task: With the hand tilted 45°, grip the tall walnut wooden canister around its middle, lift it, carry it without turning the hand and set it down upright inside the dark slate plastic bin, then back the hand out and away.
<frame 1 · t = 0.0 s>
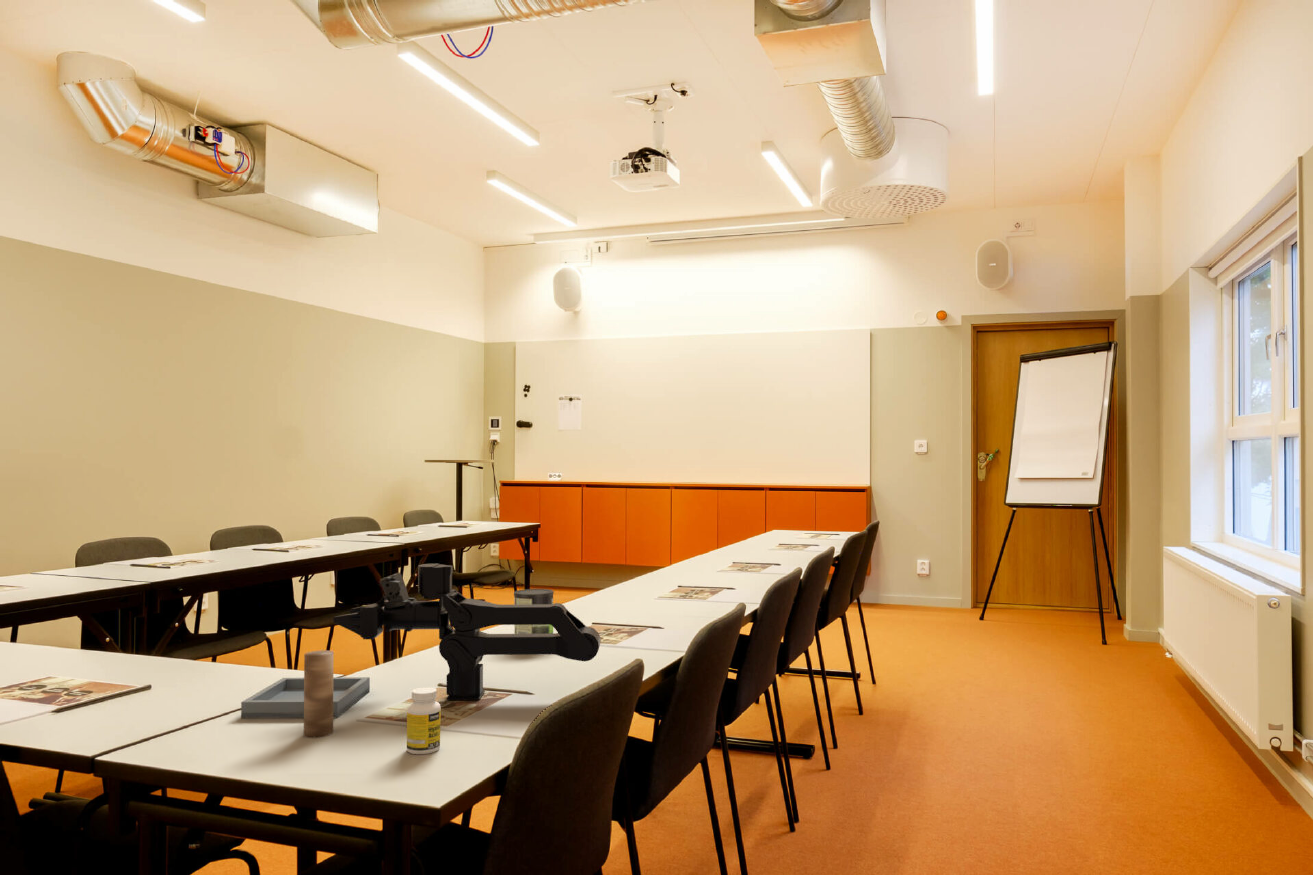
hand: (342, 615, 173), 17 cm above the table, tool horizontal, fingers open, 9 cm apart
coffee can: (533, 646, 221), on the table
supplement bottle: (423, 750, 141), on the table
canister: (318, 733, 150), on the table
bin: (308, 704, 168), on the table
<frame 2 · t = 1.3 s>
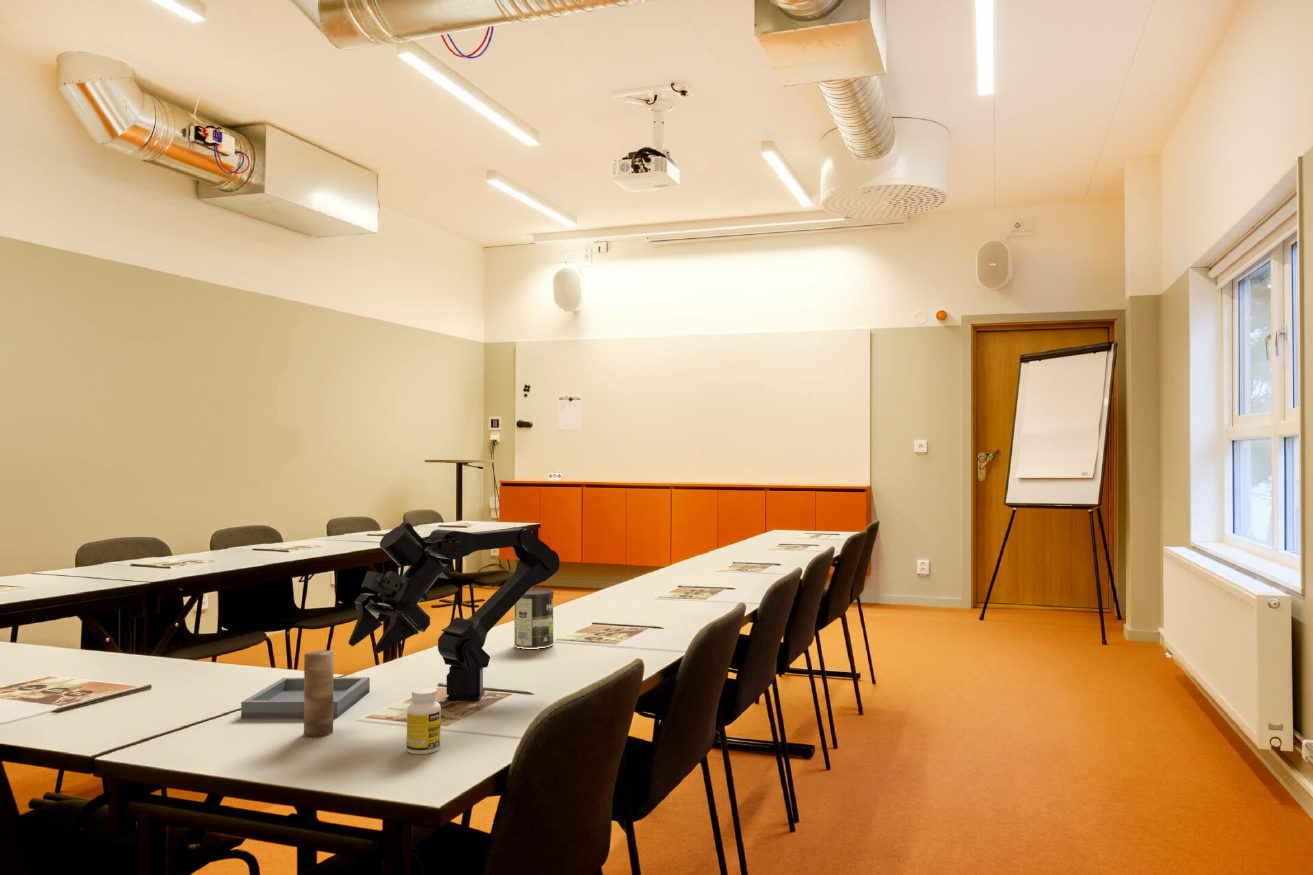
hand: (362, 648, 156), 13 cm above the table, tool tilted 45°, fingers open, 9 cm apart
nothing on the table moved.
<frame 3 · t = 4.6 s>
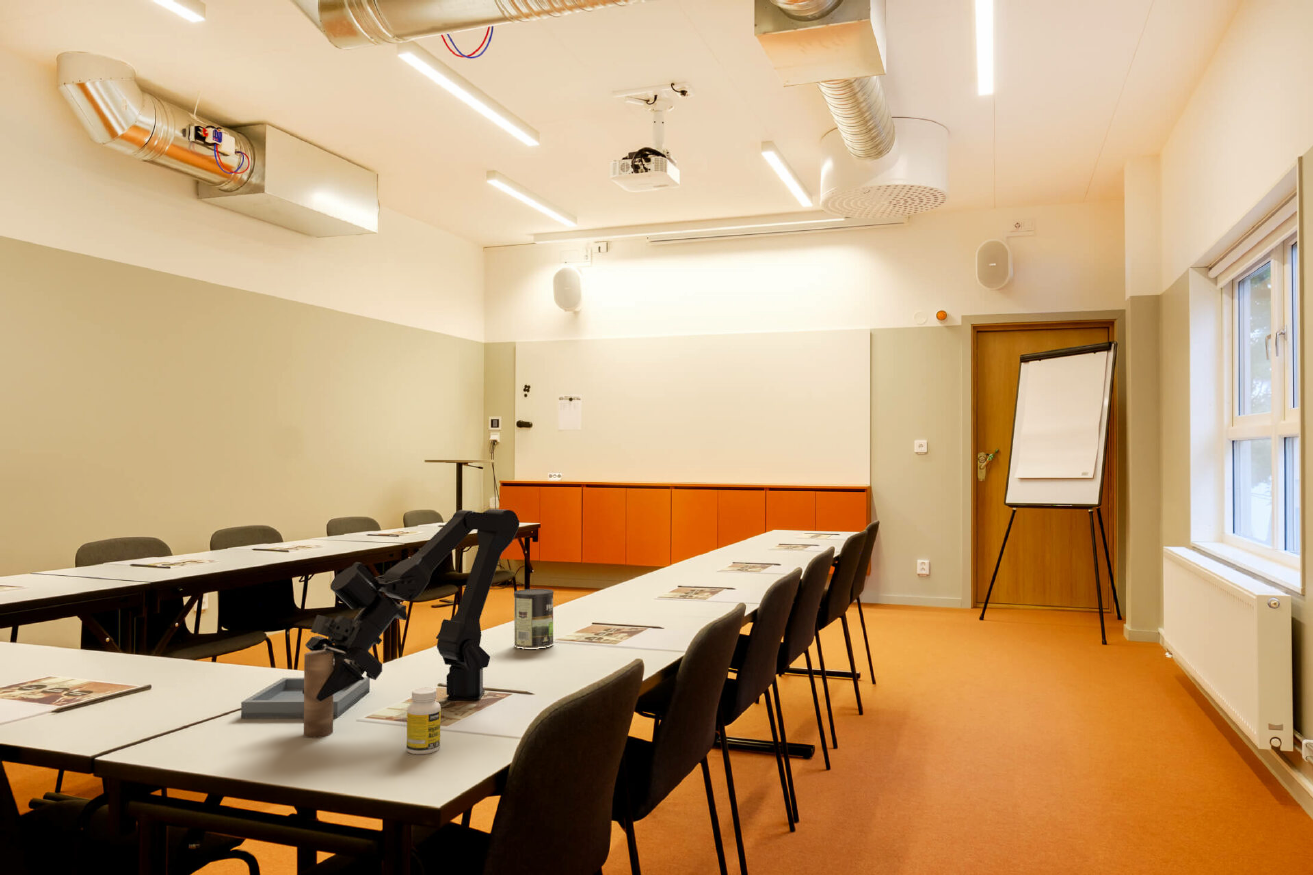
hand: (311, 697, 149), 7 cm above the table, tool tilted 45°, fingers closed on canister, 5 cm apart
canister: (318, 732, 150), on the table, touching gripper
everything else where it was.
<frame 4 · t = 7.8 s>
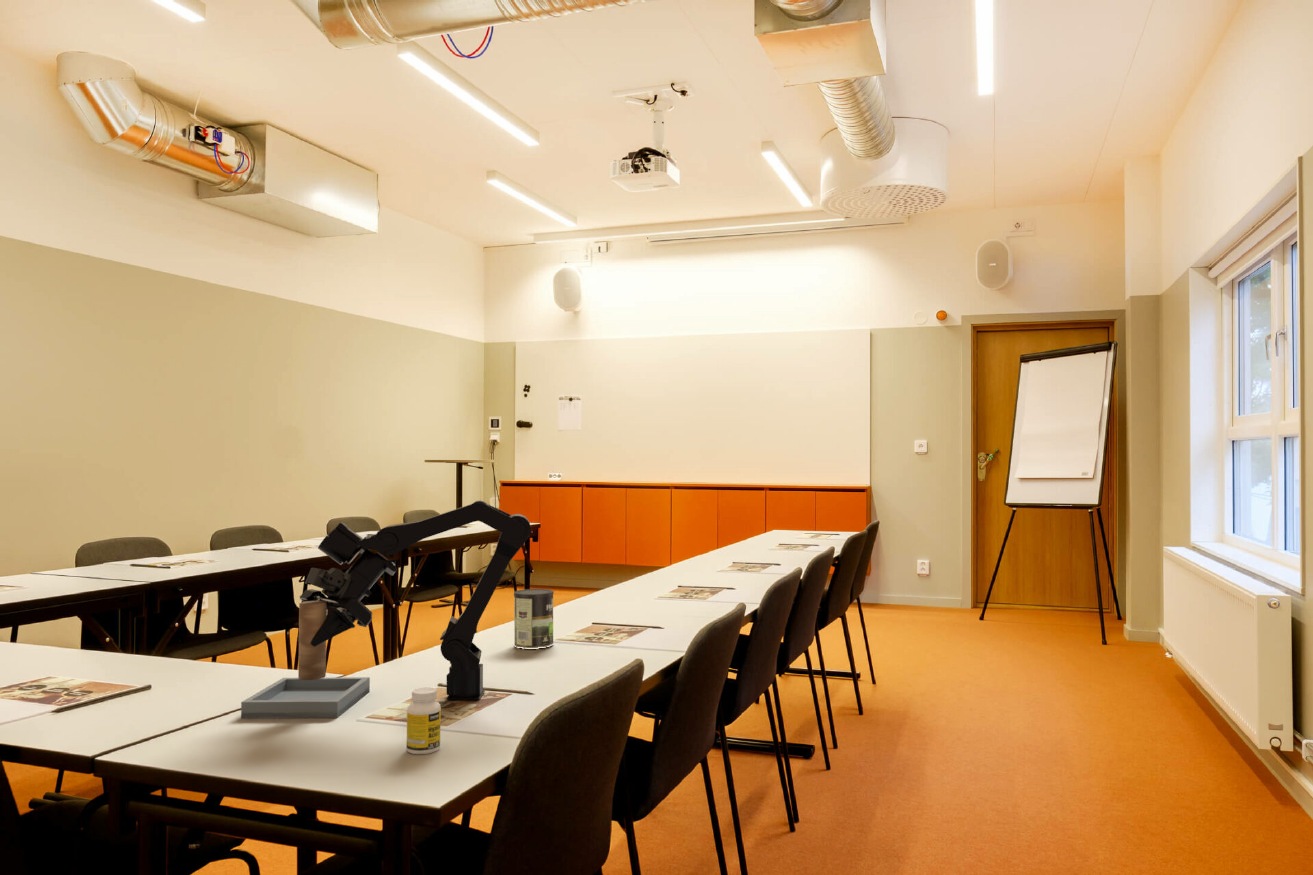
hand: (305, 643, 160), 14 cm above the table, tool tilted 45°, fingers closed on canister, 5 cm apart
canister: (312, 676, 161), point 7 cm above the table, touching gripper
everything else where it was.
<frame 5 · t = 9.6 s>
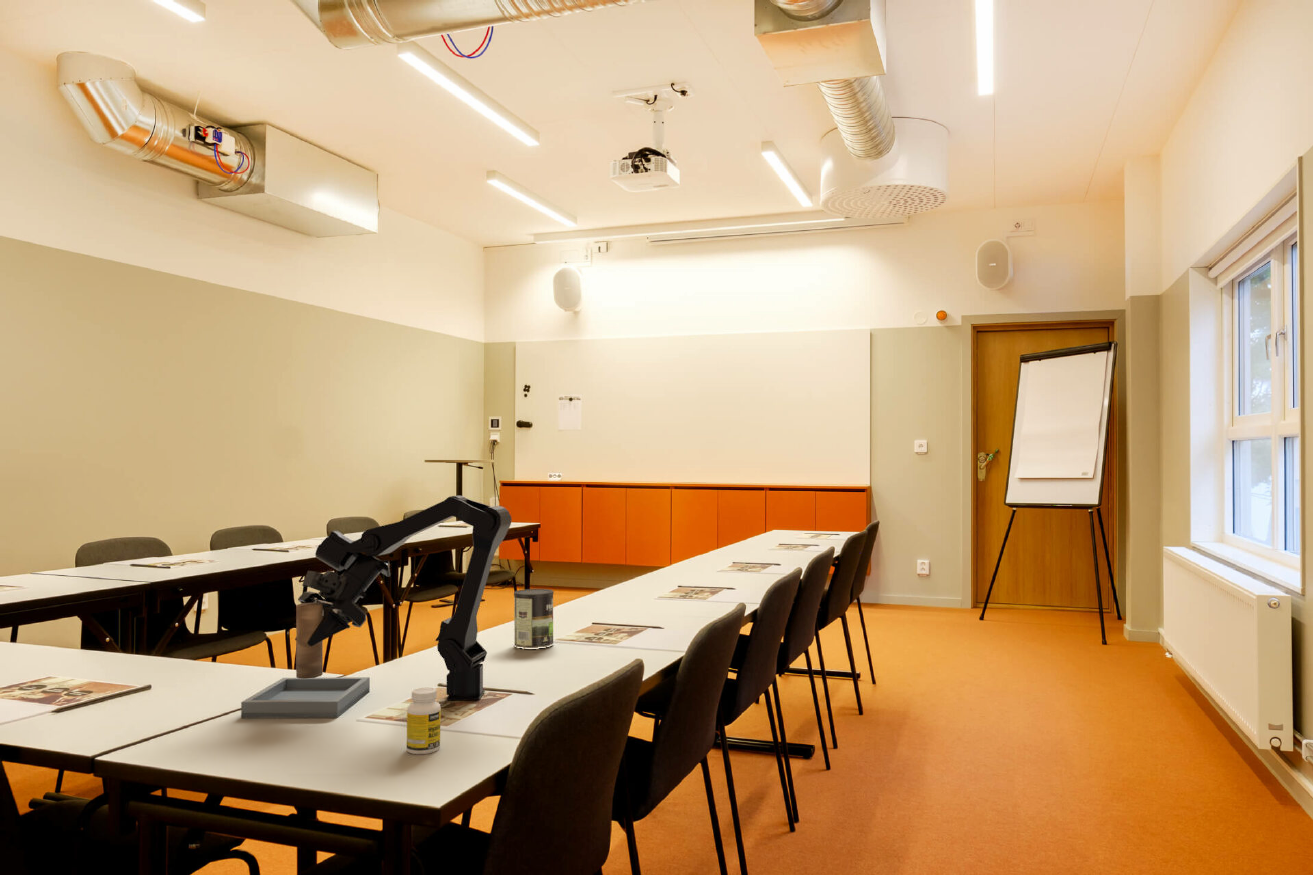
hand: (302, 643, 167), 12 cm above the table, tool tilted 45°, fingers closed on canister, 5 cm apart
canister: (309, 675, 168), point 6 cm above the table, touching gripper
everything else where it was.
when the fingers open (8 cm above the table, at t = 11.1 s): canister stays where it is, resting on bin.
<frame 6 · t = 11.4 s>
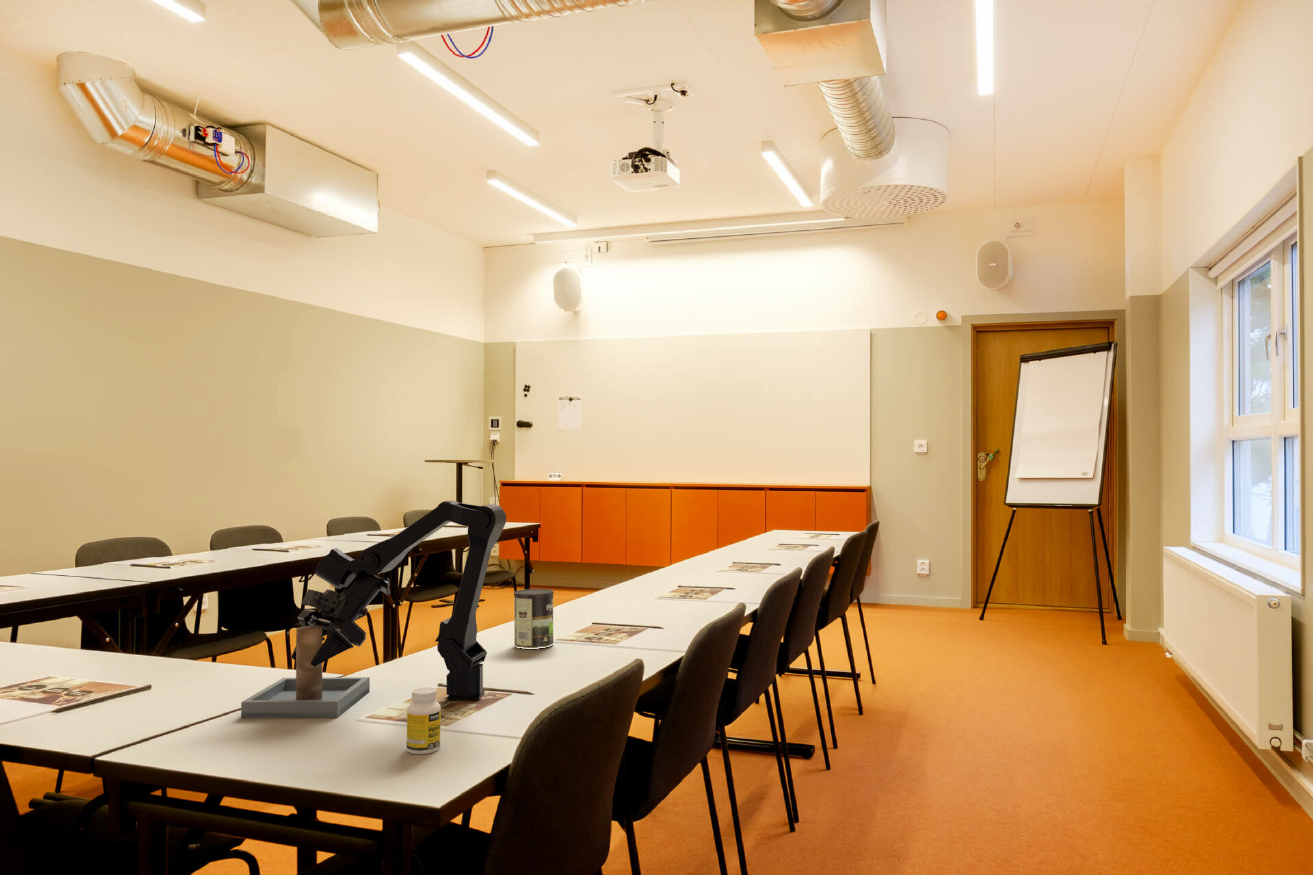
hand: (302, 661, 167), 9 cm above the table, tool tilted 45°, fingers open, 8 cm apart
canister: (309, 699, 168), point 1 cm above the table, touching bin
everything else where it was.
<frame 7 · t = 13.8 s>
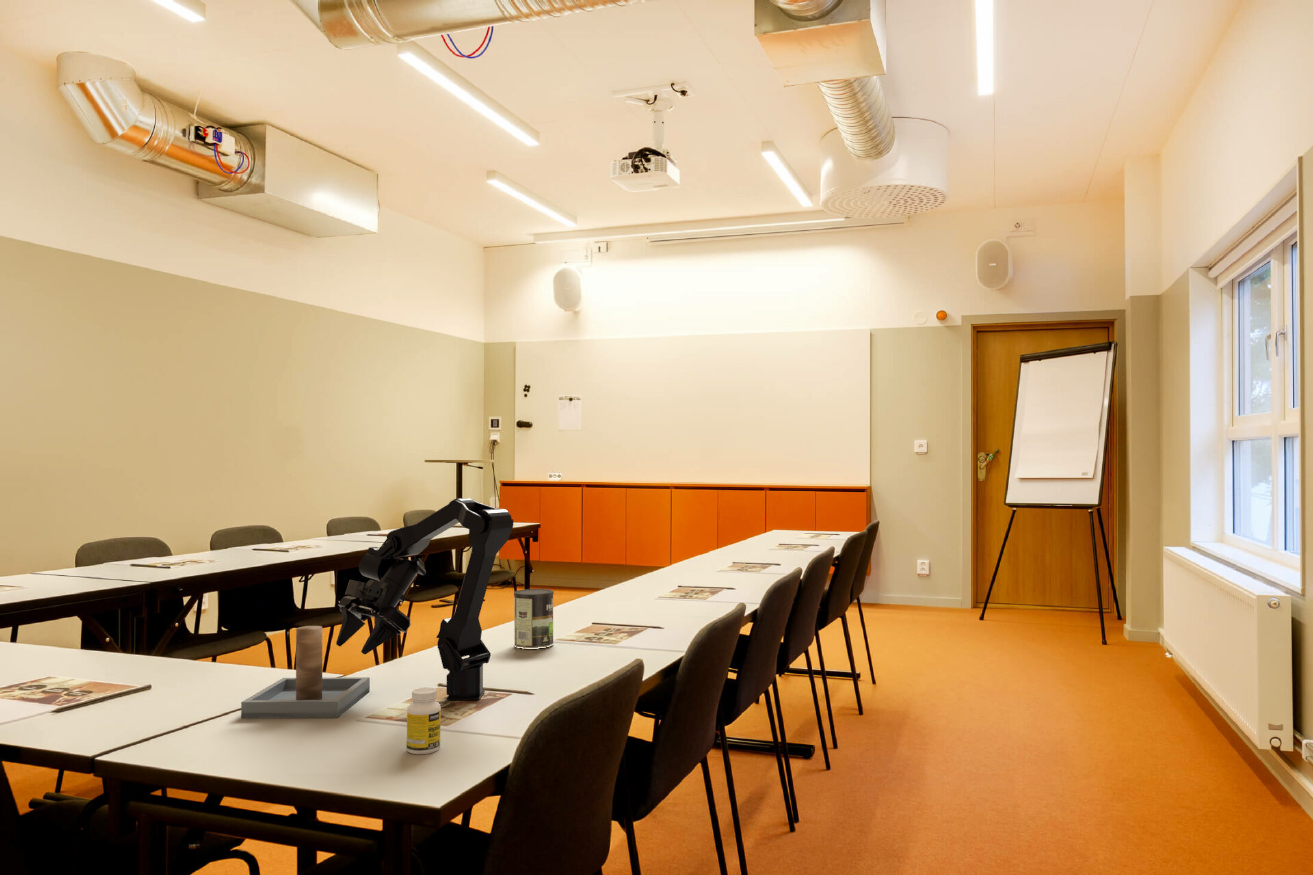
hand: (350, 649, 174), 9 cm above the table, tool tilted 40°, fingers open, 9 cm apart
nothing on the table moved.
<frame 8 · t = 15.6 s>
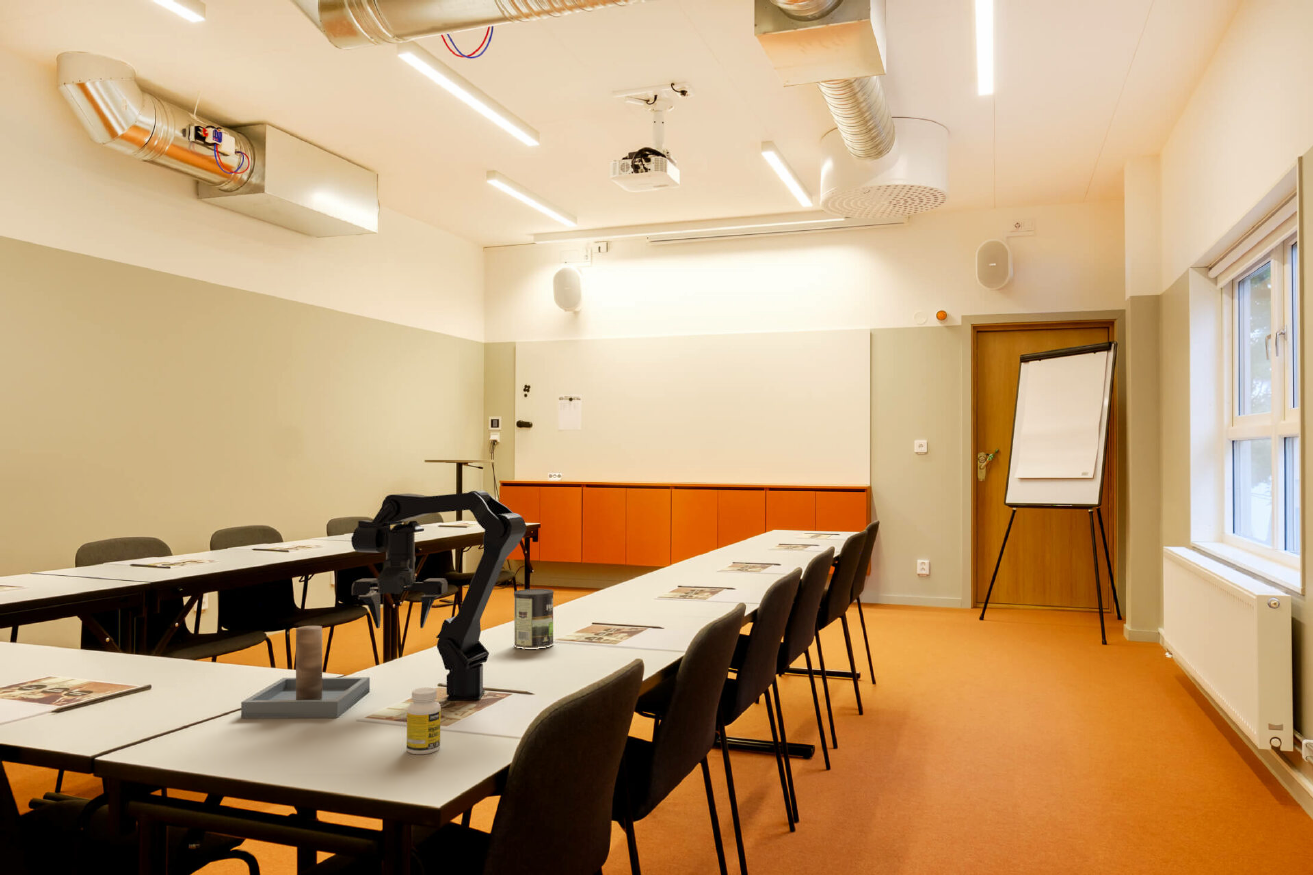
hand: (400, 627, 178), 13 cm above the table, tool pointing down, fingers open, 9 cm apart
nothing on the table moved.
at the end: canister inside the target area on the bin (0.1 cm from its centre), point 1.0 cm above the bin's base; canister tilted 1°; the gripper is holding nothing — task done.
